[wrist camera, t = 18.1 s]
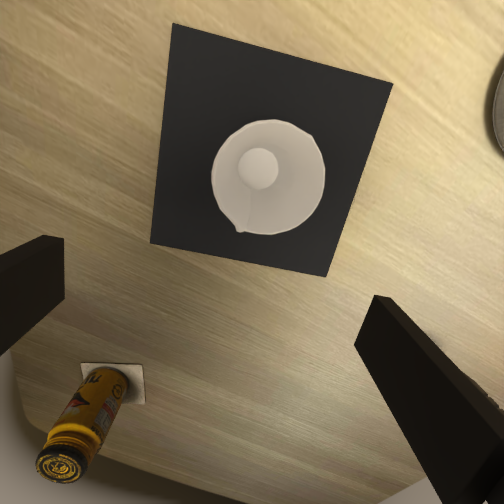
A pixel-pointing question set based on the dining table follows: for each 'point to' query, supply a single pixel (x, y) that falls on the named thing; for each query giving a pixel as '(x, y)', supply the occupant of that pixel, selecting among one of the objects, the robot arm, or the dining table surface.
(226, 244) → the mat
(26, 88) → the dining table surface
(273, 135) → the cup
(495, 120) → the flying saucer
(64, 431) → the condiment
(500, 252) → the dining table surface
